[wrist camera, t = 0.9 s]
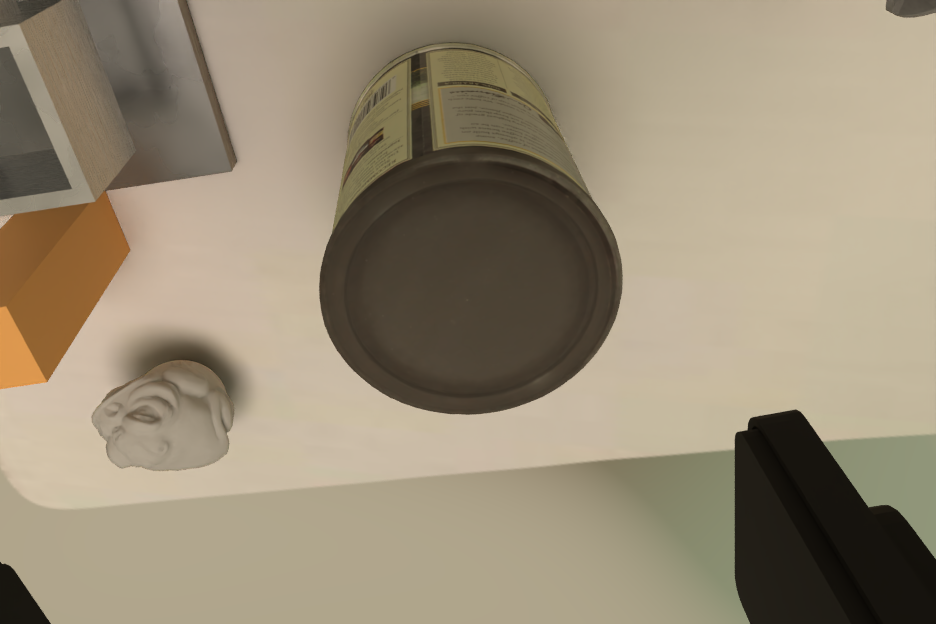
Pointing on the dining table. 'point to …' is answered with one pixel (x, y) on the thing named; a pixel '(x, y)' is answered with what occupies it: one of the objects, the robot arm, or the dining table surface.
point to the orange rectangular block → (52, 283)
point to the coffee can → (464, 239)
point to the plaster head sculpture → (167, 418)
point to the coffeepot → (911, 7)
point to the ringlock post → (102, 101)
